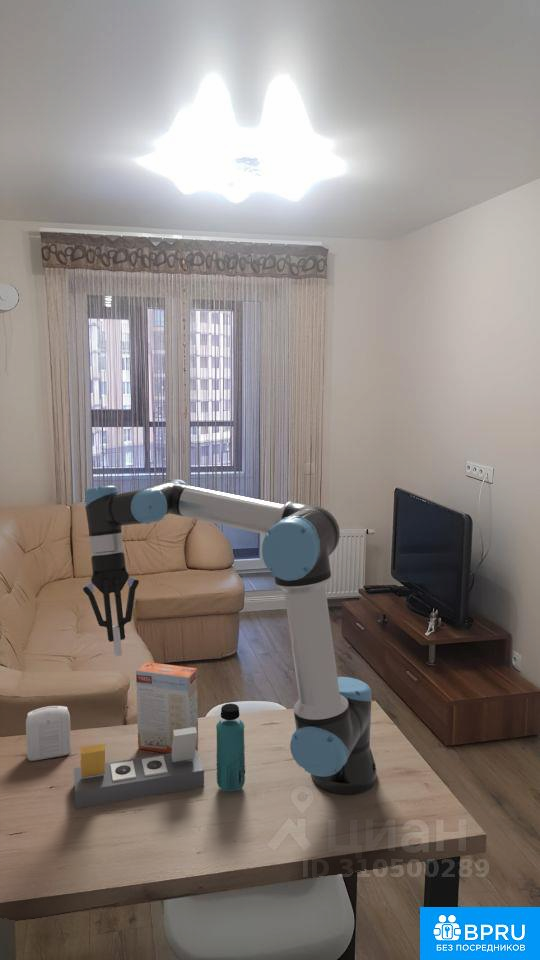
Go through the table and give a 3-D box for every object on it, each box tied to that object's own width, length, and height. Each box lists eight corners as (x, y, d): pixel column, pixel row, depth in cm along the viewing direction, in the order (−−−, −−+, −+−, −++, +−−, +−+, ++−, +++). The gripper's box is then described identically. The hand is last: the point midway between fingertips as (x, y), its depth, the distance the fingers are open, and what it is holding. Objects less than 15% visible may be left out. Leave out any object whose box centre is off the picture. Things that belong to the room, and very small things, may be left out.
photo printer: (70, 746, 173) (68, 699, 171) (72, 755, 169) (70, 708, 167) (26, 754, 170) (24, 707, 167) (27, 763, 166) (24, 715, 163)
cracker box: (199, 745, 174) (198, 667, 170) (189, 758, 168) (188, 677, 165) (148, 736, 178) (146, 659, 174) (137, 749, 172) (135, 669, 168)
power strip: (196, 764, 166) (196, 746, 165) (204, 786, 157) (203, 768, 157) (74, 784, 158) (73, 766, 157) (75, 808, 149) (75, 789, 148)
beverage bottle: (241, 800, 153) (241, 715, 149) (212, 796, 154) (211, 712, 150) (248, 782, 159) (248, 701, 155) (220, 778, 160) (219, 698, 157)
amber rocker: (104, 769, 155) (104, 743, 150) (104, 776, 154) (105, 750, 148) (81, 773, 154) (80, 747, 148) (81, 779, 153) (80, 753, 147)
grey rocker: (192, 755, 161) (195, 726, 156) (194, 761, 160) (196, 732, 155) (171, 759, 160) (173, 730, 155) (172, 765, 159) (174, 736, 153)
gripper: (133, 548, 167) (144, 647, 166) (77, 556, 163) (88, 656, 162) (137, 549, 160) (148, 652, 159) (79, 557, 156) (90, 662, 155)
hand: (118, 654), depth 161 cm, fingers closed
